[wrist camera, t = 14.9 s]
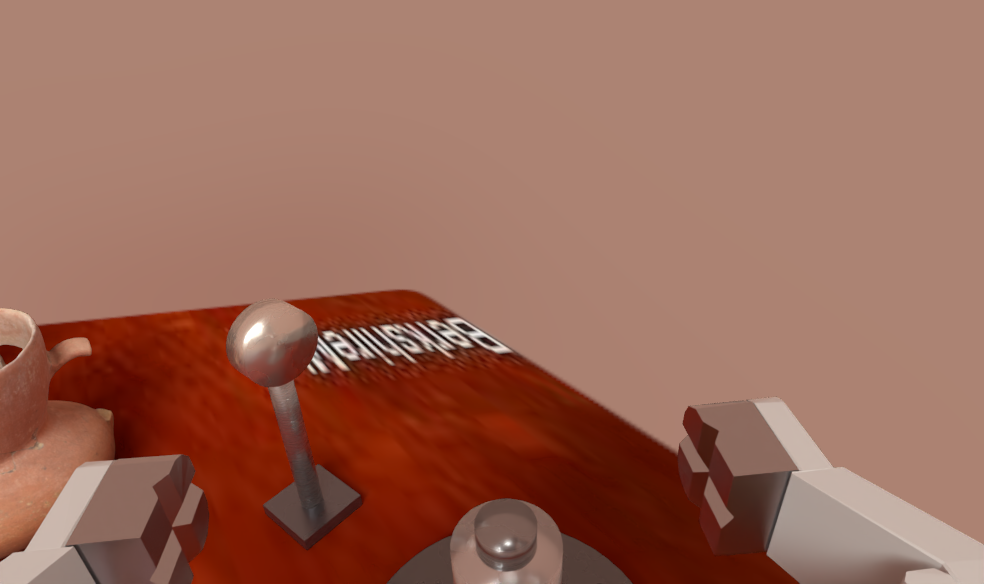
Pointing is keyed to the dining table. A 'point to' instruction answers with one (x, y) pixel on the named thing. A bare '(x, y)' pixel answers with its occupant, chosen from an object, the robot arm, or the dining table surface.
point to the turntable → (584, 570)
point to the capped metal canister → (506, 545)
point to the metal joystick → (290, 415)
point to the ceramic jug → (40, 430)
